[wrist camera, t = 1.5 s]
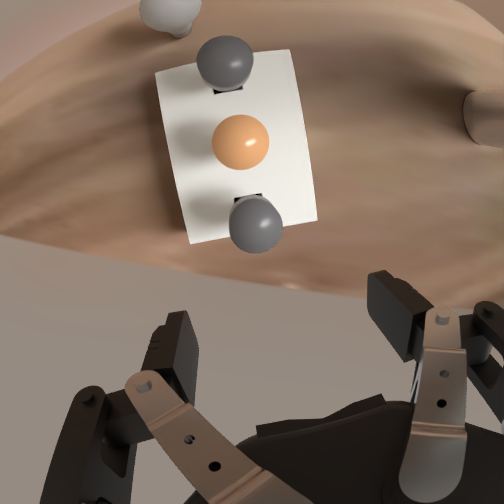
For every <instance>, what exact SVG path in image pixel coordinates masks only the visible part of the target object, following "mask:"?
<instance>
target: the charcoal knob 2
mask: <svg viewBox="0 0 504 504" xmlns="http://www.w3.org/2000/svg"><path fill="white" fill-rule="evenodd" d="M282 231H283V222H282V218H281V216H280V214H279V213H278V211H277V210H276V208H275V207H274V206H273V204H272V203H271V202H270V201H269V200H268V199H266V198H264V197H262V196H259V195H248V196H245V197H243V198H241V199H239V200H238V201H237V202H236V203H235V204H234V205H233V207H232V208H231V211H230V214H229V233H230V237H231V239H232V241H233V242H234V244H235V245H236V246H237V247H238V248H240V249H241V250H243V251H245V252H249V253H262V252H265V251H268V250H269V249H271V248H272V247H274V246H275V245H276V244H277V242H278V241H279V240H280V237H281V235H282Z"/></svg>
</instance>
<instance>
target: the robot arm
mask: <svg viewBox="0 0 504 504" xmlns="http://www.w3.org/2000/svg"><path fill="white" fill-rule="evenodd" d="M463 116H464V122H465V125H466V128H467V130H468V133H469V134H470V136H471V138H472V139H473V140H474V141H475V142H476V143H478V144H480V145H486V146H492V147H498V148H504V90H492V91H475V92H471V93H469V94H468V95H467V96H466V98H465V100H464V105H463ZM367 308H368V312H369V315H370V317H371V318H372V320H373V321H374V322H375V323H376V325H377V326H378V328H379V329H380V330H381V332H382V333H383V334H384V336H385V337H386V338H387V340H388V341H389V342H390V344H391V345H392V346H393V348H394V349H395V350H396V352H397V353H398V355H399V356H400V357H401V359H402V360H403V362H404V363H405V362H408V361H410V360H413V359H414V360H415V361H416V364H415V368H414V374H413V379H412V385H411V390H410V394H409V399H408V402H405V401H385V400H384V398H383V396H382V394H378V395H376V396H373V397H370V398H367V399H364V400H361V401H358V402H354V403H352V404H350V405H348V406H346V407H345V408H343V409H341V410H339V411H337V412H335V413H333V414H331V415H329V416H327V417H325V418H321V419H296V420H284V421H279V422H273V423H268V424H262V425H257V426H256V430H257V434H256V435H254V436H251V437H249V438H247V439H245V440H244V441H242V442H240V443H239V444H237V445H236V446H234V445H233V444H232V443H231V442H230V441H229V440H227V439H226V438H225V437H224V436H223V435H222V434H221V433H220V432H219V431H218V430H216V428H214V427H213V426H212V425H211V424H210V423H209V422H208V421H207V420H206V419H205V418H204V417H203V416H202V415H201V414H200V413H199V412H198V411H197V410H196V409H195V408H194V402H195V390H196V377H197V367H198V356H199V347H198V342H197V338H196V335H195V332H194V330H193V327H192V324H191V321H190V318H189V315H188V313H187V311H186V310H185V311H178V312H172V313H169V314H168V317H167V320H166V324H165V325H162V326H159V327H158V328H157V329H156V330H155V331H154V333H153V334H152V337H151V340H150V344H149V346H148V350H147V352H146V355H145V358H144V362H143V365H142V368H141V371H140V372H138V373H136V374H134V375H133V376H131V377H130V378H129V379H128V380H127V382H126V384H125V389H123V390H119V391H116V392H113V393H109V394H106V393H105V392H104V390H103V389H102V388H100V387H99V386H88V387H86V388H83V389H82V390H80V391H79V392H78V393H77V394H76V395H75V397H74V399H73V401H72V404H71V406H70V409H69V411H68V414H67V417H66V419H65V422H64V425H63V428H62V430H61V433H60V436H59V439H58V442H57V445H56V448H55V451H54V454H53V457H52V460H51V464H50V467H49V470H48V474H47V477H46V481H45V484H44V488H43V492H42V496H41V499H40V504H130V501H131V491H132V482H133V473H134V465H135V456H136V450H137V443H139V442H142V441H146V440H150V439H153V438H155V439H156V440H157V441H158V443H159V444H160V445H161V447H162V448H163V450H164V451H165V452H166V454H167V455H168V456H169V458H170V459H171V460H172V461H173V463H174V464H175V465H176V466H177V468H178V469H179V470H180V471H181V473H182V474H183V475H184V476H185V477H186V479H187V480H188V481H189V482H190V483H191V484H192V485H193V487H194V488H195V489H196V490H195V492H194V493H193V494H192V495H191V496H190V497H189V498H188V500H186V502H185V503H184V504H504V366H503V368H502V367H501V366H500V365H499V363H498V362H497V361H496V360H495V359H494V358H493V357H492V356H491V354H490V352H491V349H492V347H493V346H494V347H495V348H496V349H497V350H498V351H499V353H500V354H501V355H502V357H503V359H504V310H503V309H502V308H501V307H500V306H499V305H497V304H495V303H493V302H489V301H482V302H479V303H477V304H476V305H475V307H474V311H473V314H470V315H462V316H458V314H457V313H456V312H455V311H454V310H452V309H450V308H448V307H440V306H439V307H434V306H433V305H432V304H431V303H430V302H429V301H428V300H427V299H425V298H424V297H423V296H422V295H421V294H420V293H418V291H416V290H415V289H413V287H412V286H411V285H410V284H409V283H407V282H406V281H404V280H401V279H399V278H394V277H393V276H392V275H391V274H389V273H388V272H387V271H386V270H382V271H378V272H374V273H370V274H369V275H368V283H367ZM467 377H468V378H469V379H470V381H471V382H472V383H473V385H474V386H475V387H476V388H477V390H478V391H479V393H480V394H481V395H482V397H483V398H484V399H485V401H486V402H487V404H488V405H489V406H490V408H491V409H492V411H493V412H494V414H495V415H496V417H497V418H498V420H499V421H500V423H501V424H502V425H501V430H502V434H500V433H496V432H493V431H490V430H487V429H484V428H481V427H478V426H475V425H472V424H469V423H466V422H465V414H466V395H467V393H466V392H467Z"/></svg>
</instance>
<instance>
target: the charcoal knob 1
mask: <svg viewBox="0 0 504 504" xmlns="http://www.w3.org/2000/svg"><path fill="white" fill-rule="evenodd" d="M253 62H254V57H253V52H252V50H251V48H250V47H249V45H248V44H247V43H246V42H244V41H243V40H241V39H239V38H237V37H233V36H219V37H216V38H213V39H211V40H209V41H208V42H206V43H205V44H204V45H203V46H202V47H201V49H200V50H199V52H198V55H197V67H198V70H199V72H200V74H201V77H202V79H203V81H204V82H205V83H206V84H207V85H208V86H209V87H210V88H212V89H215V90H218V91H232V90H235V89H237V88H239V87H241V86H242V85H243V84H244V83H245V82H246V81H247V80H248V78H249V76H250V73H251V70H252V66H253Z"/></svg>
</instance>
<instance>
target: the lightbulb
mask: <svg viewBox="0 0 504 504" xmlns="http://www.w3.org/2000/svg"><path fill="white" fill-rule="evenodd" d="M201 6H202V0H141V2H140V8H139V10H140V16H141V18H142V20H143V21H144V23H145V24H146V25H147V26H149V27H150V28H152V29H154V30H157V31H161V32H169V33H171V34H172V35H173V36H174V37H176V38H183V37H186V36H187V35H188V34H189V33H190V32H191V24H192V22H193V21H194V20H195V18H196V17H197V16H198V14H199V12H200V9H201Z"/></svg>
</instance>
